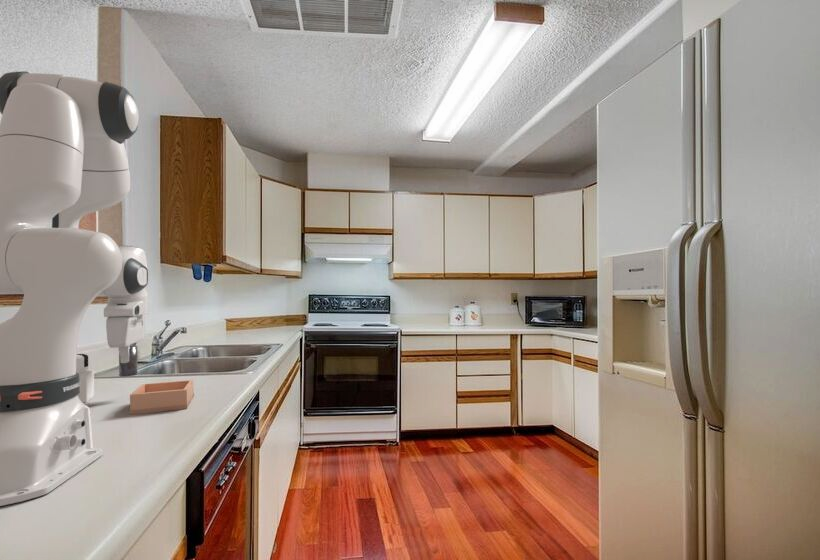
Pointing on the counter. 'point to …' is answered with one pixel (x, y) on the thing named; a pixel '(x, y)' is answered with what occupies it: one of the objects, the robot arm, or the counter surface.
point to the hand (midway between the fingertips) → (128, 361)
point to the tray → (162, 396)
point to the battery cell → (129, 363)
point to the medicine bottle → (84, 378)
